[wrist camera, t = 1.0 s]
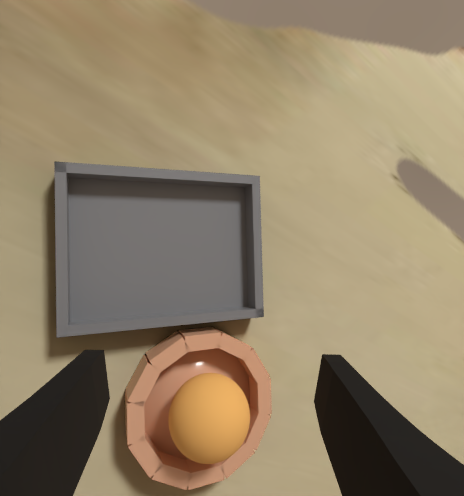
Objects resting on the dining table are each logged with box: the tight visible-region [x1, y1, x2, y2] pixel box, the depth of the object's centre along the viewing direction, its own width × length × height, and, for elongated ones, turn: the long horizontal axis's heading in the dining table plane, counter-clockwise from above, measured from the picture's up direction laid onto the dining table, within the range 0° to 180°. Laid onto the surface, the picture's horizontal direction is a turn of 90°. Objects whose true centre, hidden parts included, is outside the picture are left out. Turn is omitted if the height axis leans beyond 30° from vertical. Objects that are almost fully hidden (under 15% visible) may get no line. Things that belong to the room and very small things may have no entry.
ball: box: [168, 373, 250, 464], centre depth 21 cm, size 5×5×5 cm
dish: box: [125, 327, 272, 490], centre depth 22 cm, size 10×10×2 cm
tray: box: [55, 162, 264, 337], centre depth 22 cm, size 10×13×2 cm
